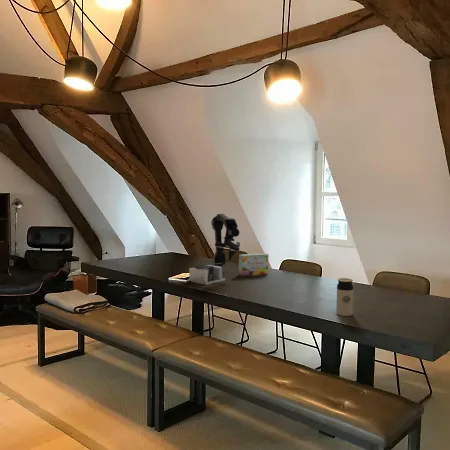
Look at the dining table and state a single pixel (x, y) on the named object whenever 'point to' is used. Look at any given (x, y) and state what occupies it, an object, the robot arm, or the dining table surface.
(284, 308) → the dining table surface
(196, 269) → the vise
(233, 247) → the robot arm
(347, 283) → the travel mug
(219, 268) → the free jaw
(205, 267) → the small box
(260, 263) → the snack box
